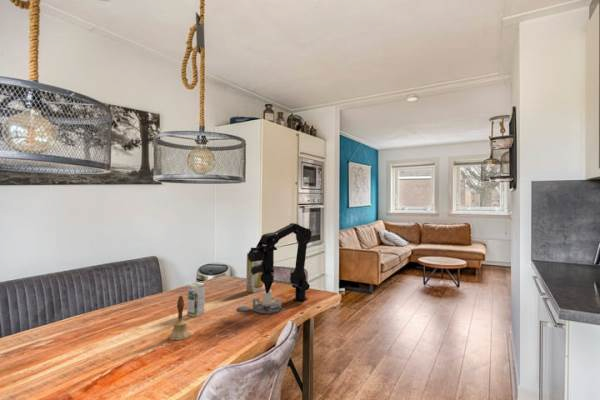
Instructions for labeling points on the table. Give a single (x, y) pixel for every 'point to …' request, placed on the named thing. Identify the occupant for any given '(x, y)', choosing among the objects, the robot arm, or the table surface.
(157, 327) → the table surface
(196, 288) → the syrup box
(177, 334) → the hand bell
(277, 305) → the lugged metal disc
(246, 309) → the rubber pad
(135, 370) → the table surface
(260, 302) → the cream block with tab
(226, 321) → the table surface
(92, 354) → the table surface
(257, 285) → the juice carton
